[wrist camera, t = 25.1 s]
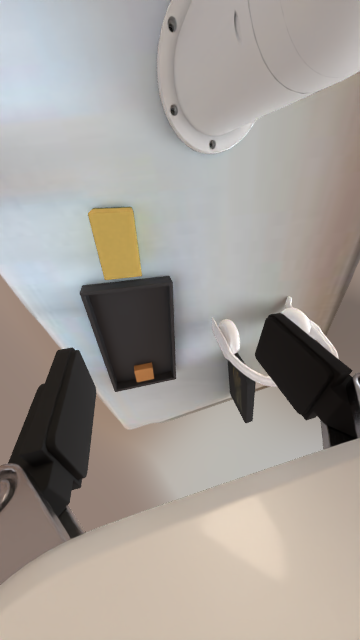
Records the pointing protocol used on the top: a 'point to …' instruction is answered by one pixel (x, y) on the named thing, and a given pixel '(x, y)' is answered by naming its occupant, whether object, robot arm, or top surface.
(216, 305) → the top surface
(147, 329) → the black shallow rectangular tray
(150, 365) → the orange square block
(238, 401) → the nameplate
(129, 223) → the sponge
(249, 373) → the headset
